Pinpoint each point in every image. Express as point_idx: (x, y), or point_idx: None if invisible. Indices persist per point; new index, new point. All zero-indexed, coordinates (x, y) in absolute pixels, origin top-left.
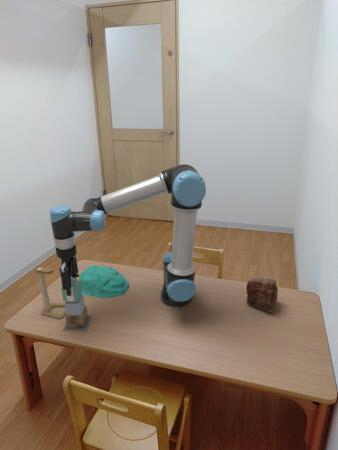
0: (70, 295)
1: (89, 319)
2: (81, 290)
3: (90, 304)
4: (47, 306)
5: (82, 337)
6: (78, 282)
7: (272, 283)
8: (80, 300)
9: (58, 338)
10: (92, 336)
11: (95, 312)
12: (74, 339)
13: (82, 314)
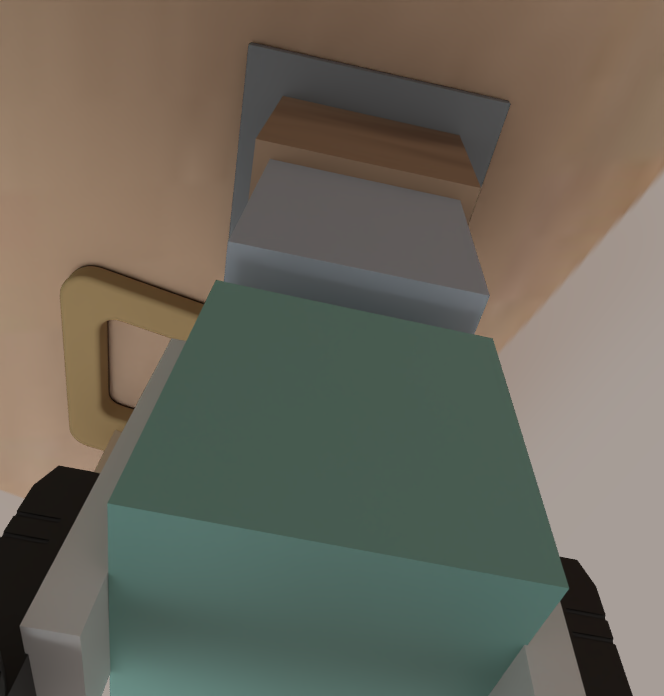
0: (586, 573)
1: (326, 76)
2: (215, 314)
3: (34, 74)
4: None
5: (583, 141)
6: (225, 545)
7: None
8: (397, 280)
9: (509, 340)
10: (616, 27)
11: (186, 2)
12: (579, 216)
13: (439, 184)
